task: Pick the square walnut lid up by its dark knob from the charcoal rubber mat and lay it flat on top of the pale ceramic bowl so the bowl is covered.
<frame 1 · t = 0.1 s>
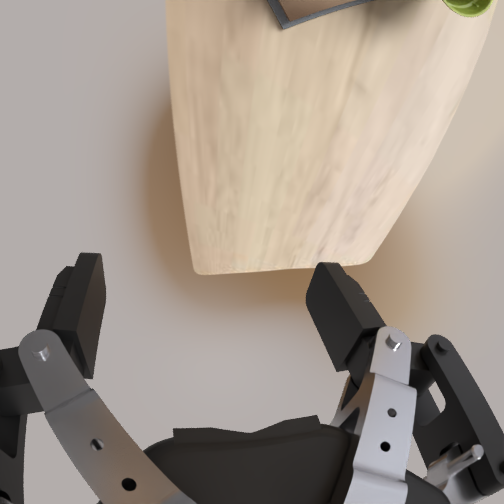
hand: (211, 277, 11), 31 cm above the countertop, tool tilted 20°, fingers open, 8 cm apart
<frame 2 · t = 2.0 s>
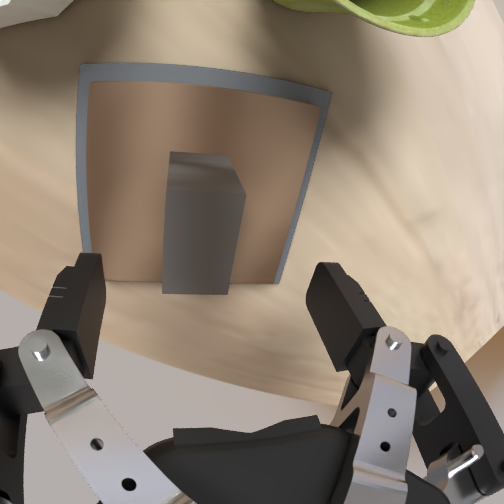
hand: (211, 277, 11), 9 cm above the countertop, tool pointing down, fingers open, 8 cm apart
lid: (192, 188, 17), resting on mat
mat: (192, 185, 18), on the countertop
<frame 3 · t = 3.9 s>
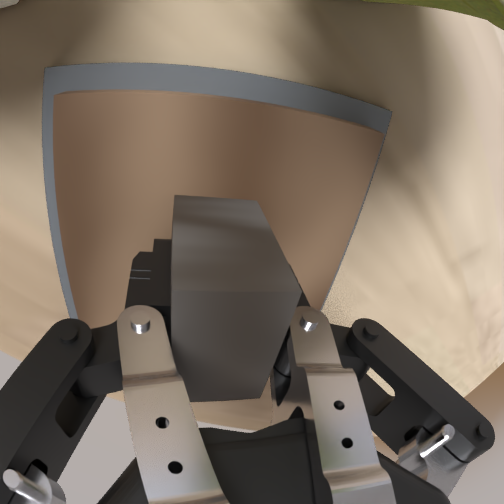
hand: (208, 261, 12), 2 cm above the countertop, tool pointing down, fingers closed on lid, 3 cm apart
lid: (206, 239, 13), point 1 cm above the countertop, touching gripper, mat
mat: (204, 233, 14), on the countertop
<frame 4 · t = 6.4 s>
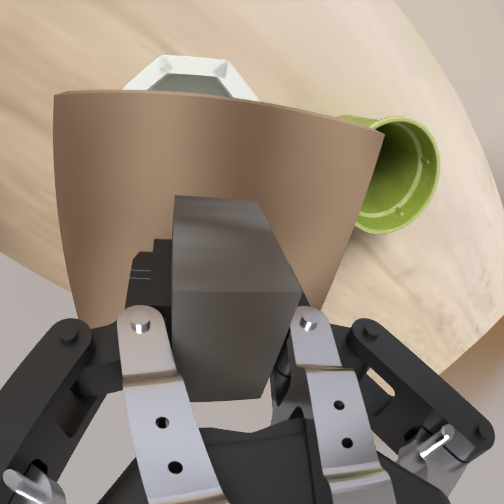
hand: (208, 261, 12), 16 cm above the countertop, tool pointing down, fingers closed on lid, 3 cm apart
lid: (206, 239, 13), point 15 cm above the countertop, touching gripper
plant pot: (344, 145, 27), on the countertop
bowl: (186, 117, 23), on the countertop
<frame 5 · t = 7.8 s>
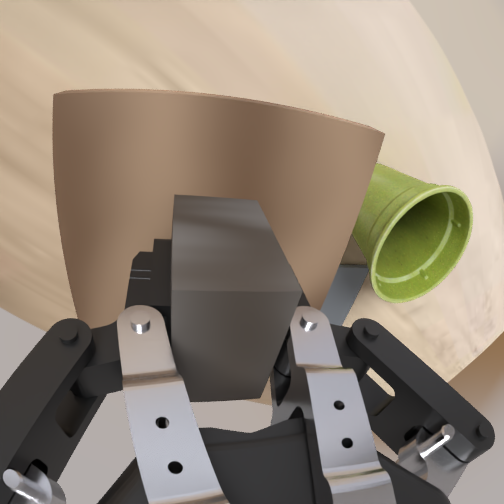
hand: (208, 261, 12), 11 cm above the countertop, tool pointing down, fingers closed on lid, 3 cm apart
lid: (206, 239, 13), point 10 cm above the countertop, touching gripper
plant pot: (366, 194, 25), on the countertop
mat: (287, 317, 32), on the countertop
when the fingers open (9 cm above the countertop, at t = 8.9 s): lid drops 1 cm, resting on bowl.
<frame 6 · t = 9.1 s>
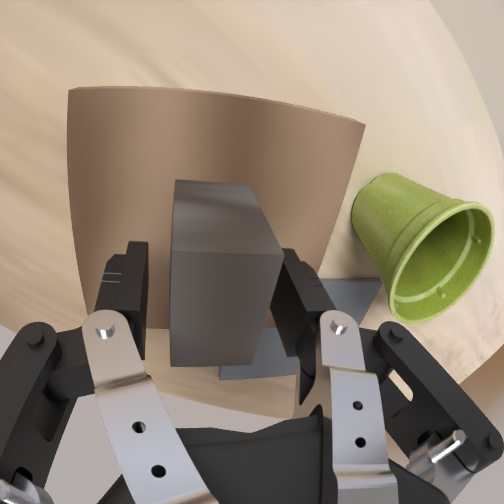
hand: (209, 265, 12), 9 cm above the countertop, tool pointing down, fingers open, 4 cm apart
lid: (203, 222, 14), point 6 cm above the countertop, touching bowl
plant pot: (381, 205, 24), on the countertop
mat: (295, 333, 30), on the countertop
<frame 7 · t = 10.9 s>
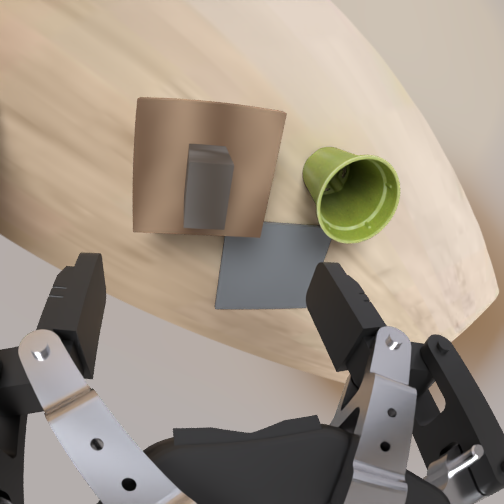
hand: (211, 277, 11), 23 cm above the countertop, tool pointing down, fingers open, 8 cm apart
lid: (203, 168, 26), point 6 cm above the countertop, touching bowl
plant pot: (326, 170, 35), on the countertop
mat: (272, 268, 42), on the countertop
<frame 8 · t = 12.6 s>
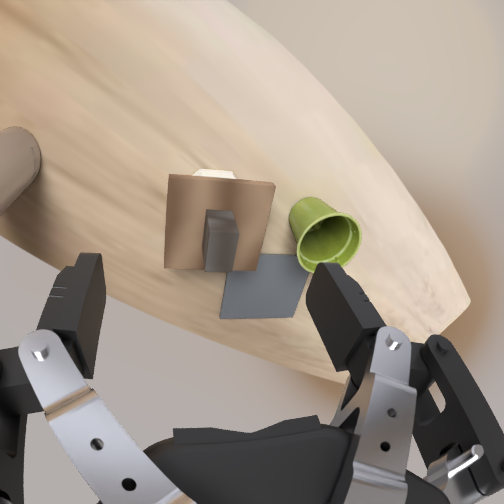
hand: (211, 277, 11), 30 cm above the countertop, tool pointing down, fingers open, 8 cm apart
lid: (215, 224, 37), point 6 cm above the countertop, touching bowl
plant pot: (307, 213, 47), on the countertop
mat: (264, 287, 53), on the countertop
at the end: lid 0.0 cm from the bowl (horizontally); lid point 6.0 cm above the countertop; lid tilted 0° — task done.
